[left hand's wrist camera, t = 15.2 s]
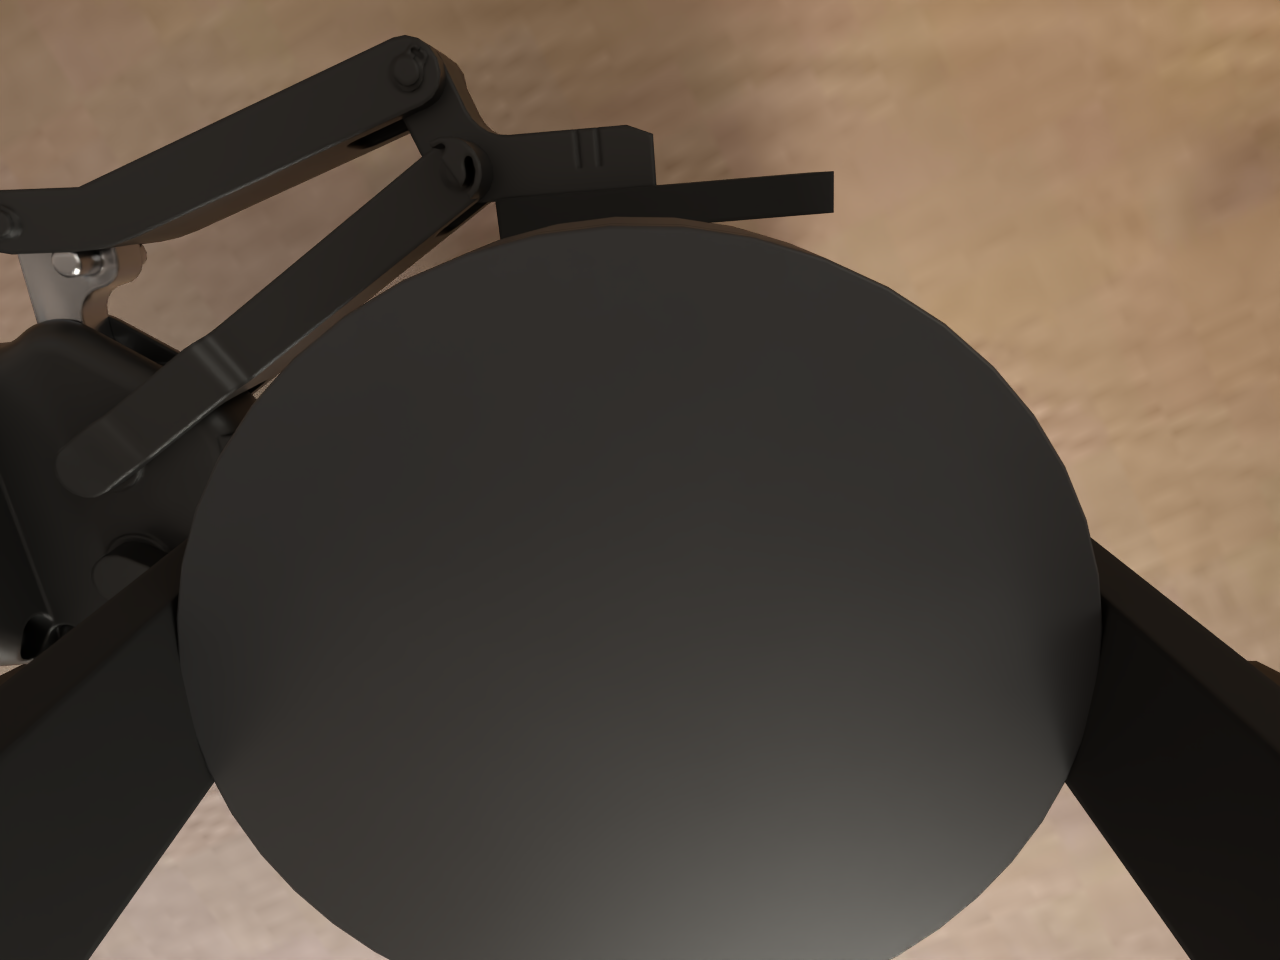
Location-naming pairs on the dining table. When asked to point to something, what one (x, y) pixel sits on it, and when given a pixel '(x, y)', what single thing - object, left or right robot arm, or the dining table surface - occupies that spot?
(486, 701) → the lid
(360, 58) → the right robot arm
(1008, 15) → the dining table surface
